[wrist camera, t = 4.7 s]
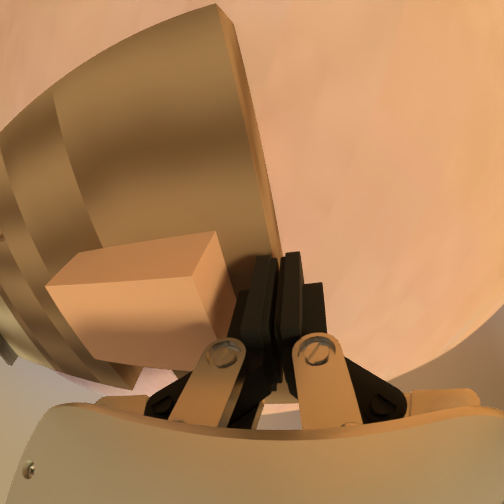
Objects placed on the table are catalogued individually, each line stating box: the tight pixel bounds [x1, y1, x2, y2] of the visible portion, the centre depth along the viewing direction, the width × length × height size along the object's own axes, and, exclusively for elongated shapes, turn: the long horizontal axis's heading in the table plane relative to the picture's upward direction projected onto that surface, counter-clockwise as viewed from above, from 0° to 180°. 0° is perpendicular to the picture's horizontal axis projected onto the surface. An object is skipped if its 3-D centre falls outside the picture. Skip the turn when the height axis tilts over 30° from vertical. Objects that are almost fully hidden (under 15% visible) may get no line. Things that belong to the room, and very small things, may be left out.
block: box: [45, 231, 237, 371], centre depth 12 cm, size 5×8×3 cm, turn 102°
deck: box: [0, 4, 299, 404], centre depth 16 cm, size 22×38×5 cm, turn 102°
